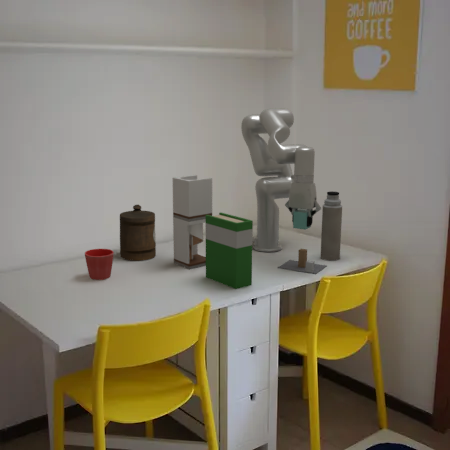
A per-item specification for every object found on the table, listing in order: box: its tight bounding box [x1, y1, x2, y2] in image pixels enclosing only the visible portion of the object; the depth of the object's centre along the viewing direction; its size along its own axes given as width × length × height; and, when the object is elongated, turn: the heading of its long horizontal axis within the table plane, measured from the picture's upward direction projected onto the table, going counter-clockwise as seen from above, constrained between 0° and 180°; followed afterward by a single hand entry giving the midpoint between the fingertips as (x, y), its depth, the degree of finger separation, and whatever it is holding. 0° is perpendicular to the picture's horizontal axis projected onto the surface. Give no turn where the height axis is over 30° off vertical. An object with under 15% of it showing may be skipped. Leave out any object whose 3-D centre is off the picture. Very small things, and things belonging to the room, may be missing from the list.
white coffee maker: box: [172, 174, 213, 270], centre depth 250 cm, size 11×11×35 cm
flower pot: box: [84, 248, 115, 281], centre depth 235 cm, size 11×11×10 cm
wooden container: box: [119, 204, 157, 262], centre depth 262 cm, size 15×15×22 cm
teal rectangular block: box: [292, 209, 312, 230], centre depth 245 cm, size 5×5×7 cm
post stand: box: [277, 248, 327, 275], centre depth 249 cm, size 16×12×7 cm
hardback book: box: [205, 212, 254, 290], centre depth 230 cm, size 18×7×24 cm, turn 40°
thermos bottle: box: [320, 191, 343, 262], centre depth 260 cm, size 8×8×28 cm
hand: (302, 224), depth 246 cm, fingers closed on teal rectangular block, 5 cm apart
